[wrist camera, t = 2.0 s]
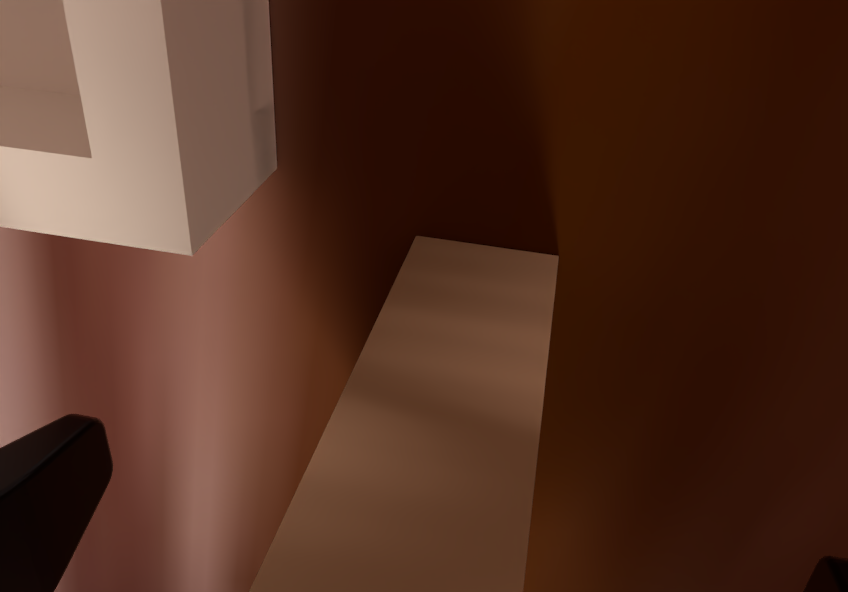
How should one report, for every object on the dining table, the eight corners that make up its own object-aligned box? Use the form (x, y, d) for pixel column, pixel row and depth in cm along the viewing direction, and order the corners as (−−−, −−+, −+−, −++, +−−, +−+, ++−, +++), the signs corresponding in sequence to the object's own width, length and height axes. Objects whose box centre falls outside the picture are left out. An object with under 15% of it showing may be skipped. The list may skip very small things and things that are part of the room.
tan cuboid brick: (403, 467, 13) (188, 1140, 6) (416, 235, 11) (96, 917, 4) (518, 489, 13) (424, 1216, 6) (558, 256, 10) (475, 1031, 4)
